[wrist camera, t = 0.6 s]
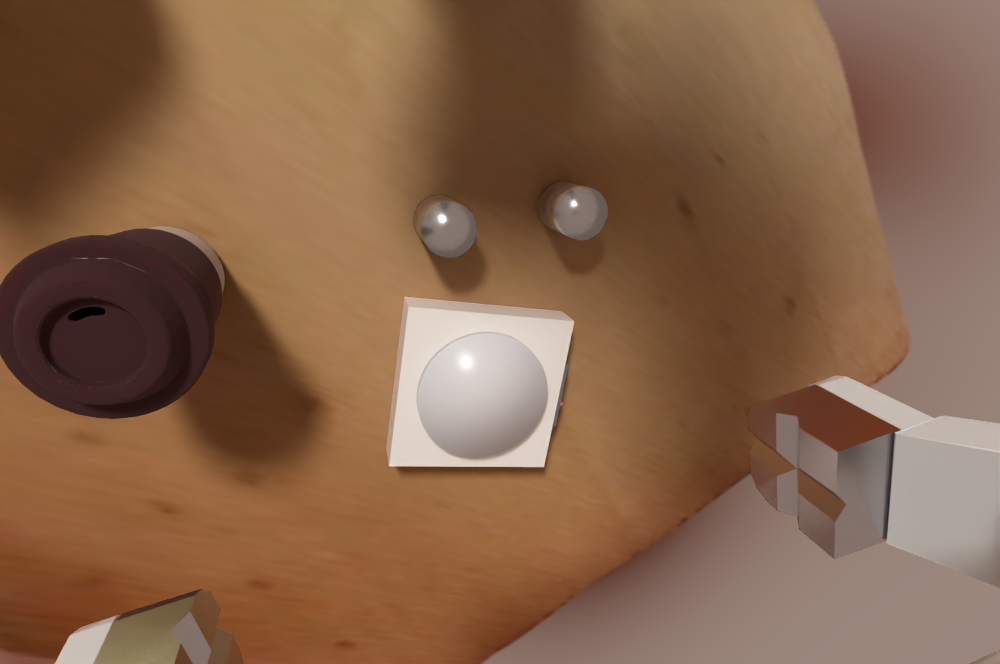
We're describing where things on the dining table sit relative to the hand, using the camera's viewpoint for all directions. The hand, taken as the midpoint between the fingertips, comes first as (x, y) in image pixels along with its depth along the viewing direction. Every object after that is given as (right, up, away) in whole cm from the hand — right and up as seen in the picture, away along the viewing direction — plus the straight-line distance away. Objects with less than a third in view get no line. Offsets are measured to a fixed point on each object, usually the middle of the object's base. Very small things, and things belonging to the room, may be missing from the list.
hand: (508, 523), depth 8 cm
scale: (-2, -1, +43) cm, 43 cm away
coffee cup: (-24, +7, +34) cm, 42 cm away
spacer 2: (+5, +13, +40) cm, 42 cm away
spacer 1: (-5, +12, +38) cm, 40 cm away
